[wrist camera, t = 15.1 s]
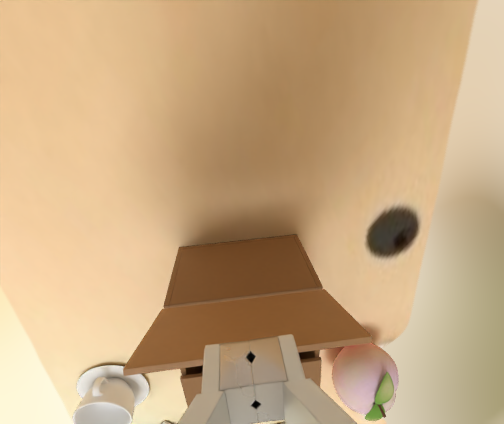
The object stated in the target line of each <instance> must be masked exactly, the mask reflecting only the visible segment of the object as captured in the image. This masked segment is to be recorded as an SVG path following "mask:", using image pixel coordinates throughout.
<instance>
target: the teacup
mask: <svg viewBox="0 0 504 424" xmlns="http://www.w3.org/2000/svg"><path fill="white" fill-rule="evenodd" d="M123 368H124V367H123V366H116V365H106V366H99V367H96V368H93V369H90V370H88V371H87V372H85V373H84V374H83V375H82V376H81V377H80V378H79V380H78V382H77V391H78V394H79V395H80V397H81V398H82V400H81V402H80V403H79V405H78V407H77V409H76V410H75V412H74V414H73V422H74V424H131V423H132V419H133V412H134V406H136V405H138V404H140V403H141V402H143V401H144V400H145V399H146V397H147V396H148V393H149V384H148V382H147V380H146V379H145V378H144V377H143V376H142V375H141V374H135V375H128V376H124V374H123Z"/></svg>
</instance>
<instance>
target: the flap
mask: <svg viewBox="0 0 504 424" xmlns="http://www.w3.org/2000/svg"><path fill="white" fill-rule="evenodd" d="M289 334H292V335H293V336H294V340H295V343H296V347H297V350H298V353H299V352H307V351H314V350H322V349H329V348H336V347H344V346H351V345H359V344H366V343H372V336H371V335H370V334H369V333H368V332H367V331H366V330H365V329H364V328H363V327H362V326H361V325H360V324H359V323H358V322H357V321H356V320H355V319H354V318H353V317H352V316H351V315H350V314H349V313H348V312H347V311H346V310H345V309H344V308H343V307H342V306H341V305H340V304H339V303H338V302H337V301H336V300H335V299H334V298H333V297H332V296H331V295H330V294H329V293H328V292H327V291H326V290H325V289H323V290H315V291H306V292H298V293H290V294H282V295H273V296H265V297H257V298H249V299H240V300H232V301H224V302H216V303H207V304H199V305H191V306H183V307H175V308H166V309H162V310H161V312H160V313H159V315H158V316H157V318H156V319H155V321H154V322H153V324H152V326H151V327H150V329H149V330H148V332H147V333H146V335H145V336H144V338H143V339H142V341H141V342H140V344H139V345H138V347H137V349H136V350H135V352H134V353H133V355H132V356H131V358H130V359H129V361H128V362H127V364H126V365H125V367H124V368H123V374H124V376H128V375H135V374H143V373H150V372H158V371H165V370H173V369H180V368H188V367H195V366H202V365H203V361H204V349H205V346H206V345H212V344H221V343H229V342H239V341H248V340H252V339H259V338H265V337H272V336H277V337H278V336H281V335H289Z"/></svg>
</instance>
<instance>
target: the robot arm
mask: <svg viewBox="0 0 504 424" xmlns="http://www.w3.org/2000/svg"><path fill="white" fill-rule="evenodd" d="M276 420H285V422H286V424H357V423H356V422H355V421H354V420H353V419H352V418H351V417H350V416H349V415H348V414H347V413H346V412H345V411H344V410H343V409H342V408H341V407H340V406H339V405H337V404H336V403H335V402H334V401H333V400H332V399H331V398H330V397H329V396H328V395H327V394H326V393H325V392H324V391H323V390H322V389H321V388H320V387H319V386H318V385H317V384H316V383H315V382H314V381H312V380H311V379H310V378H308V379H306V378H305V375H304V371H303V368H302V364H301V361H300V357H299V354H298V350H297V347H296V343H295V340H294V336H293V335H292V334H289V335H281V336H278V337H277V336H272V337H265V338H259V339H252V340H248V341H239V342H229V343H221V344H212V345H206V346H205V349H204V361H203V376H202V391H201V394H197V395H196V396H195V398H194V399H193V401H192V402H191V404H190V405H189V407H188V408H187V410H186V411H185V413H184V414H183V416H182V418H181V419H180V421H179V422H178V424H253V423H259V422H267V421H276Z"/></svg>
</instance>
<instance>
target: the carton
mask: <svg viewBox="0 0 504 424" xmlns="http://www.w3.org/2000/svg"><path fill="white" fill-rule="evenodd" d="M322 289H323V286H322V284H321V282H320V280H319V278H318V276H317V274H316V272H315V270H314V268H313V266H312V264H311V262H310V260H309V258H308V256H307V254H306V252H305V250H304V248H303V246H302V244H301V242H300V240H299V238H298V236H297V235H288V236H279V237H270V238H261V239H251V240H242V241H233V242H224V243H215V244H206V245H196V246H187V247H179V249H178V253H177V257H176V261H175V264H174V268H173V272H172V276H171V280H170V283H169V287H168V291H167V295H166V299H165V302H164V309H166V308H175V307H183V306H191V305H199V304H207V303H216V302H224V301H232V300H240V299H249V298H257V297H265V296H273V295H282V294H290V293H298V292H306V291H315V290H322ZM298 354H299V357H300V361H301V364H302V368H303V371H304V375H305V378H306V379H308V378H310V379H311V380H312V381H314V382H315V383H316V384H317V385H318V386H319V387H320V378H321V357H319V350H314V351H307V352H299V353H298ZM180 370H181V373H182V376H181V383H182V387H183V391H184V394H185V398H186V402H187V405H188V407H189V405H190V404H191V402H192V401H193V399H194V398H195V396H196V395H197V394H201V391H202V376H203V365H202V366H195V367H188V368H180Z"/></svg>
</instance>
